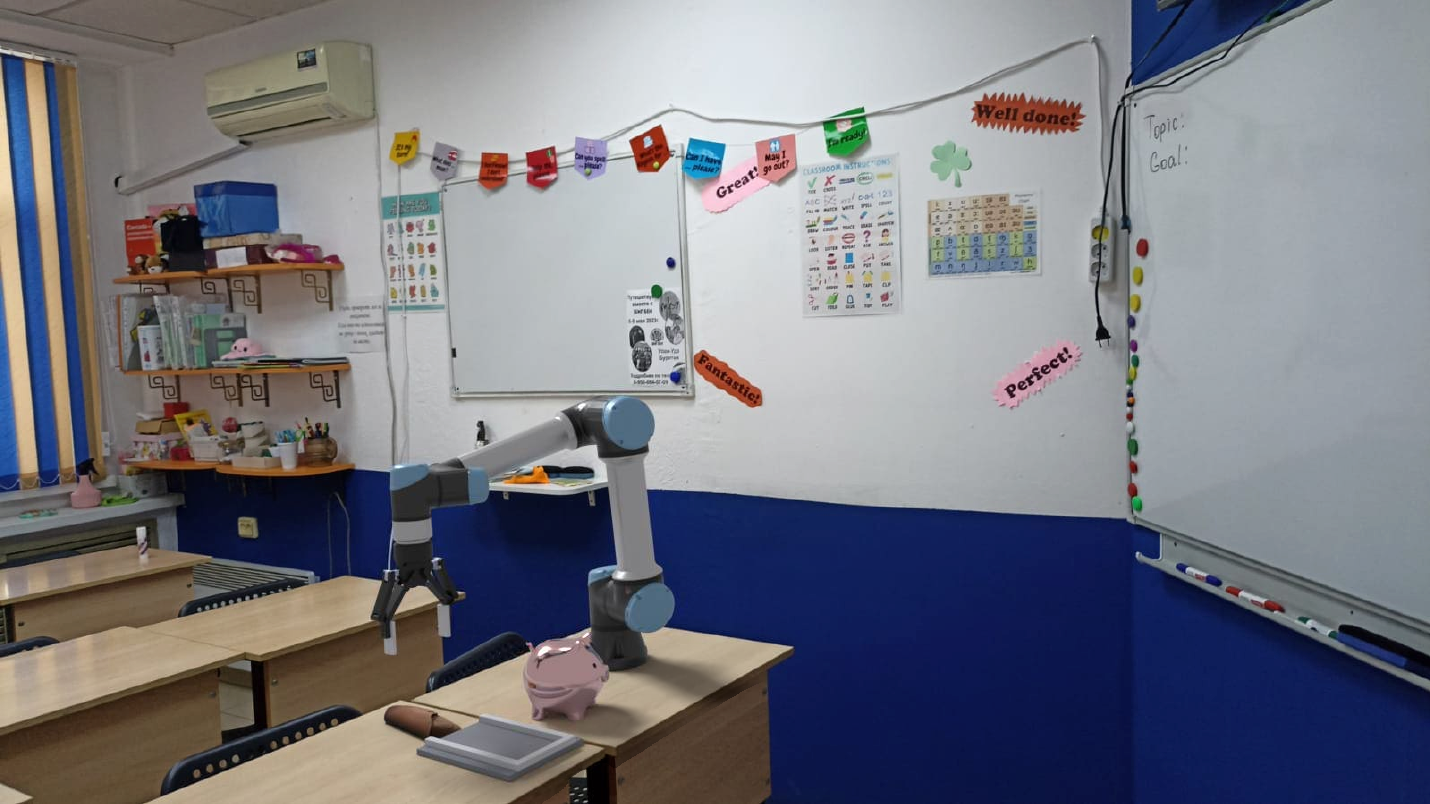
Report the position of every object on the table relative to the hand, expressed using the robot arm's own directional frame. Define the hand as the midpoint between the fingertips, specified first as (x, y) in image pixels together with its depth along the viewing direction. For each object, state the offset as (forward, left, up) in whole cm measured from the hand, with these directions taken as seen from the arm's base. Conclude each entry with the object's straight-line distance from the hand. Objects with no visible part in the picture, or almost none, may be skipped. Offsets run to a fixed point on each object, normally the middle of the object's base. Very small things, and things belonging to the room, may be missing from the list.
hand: (418, 644), depth 198 cm
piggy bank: (-21, +20, -17) cm, 34 cm away
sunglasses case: (-1, -1, -18) cm, 18 cm away
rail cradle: (0, +22, -17) cm, 28 cm away
